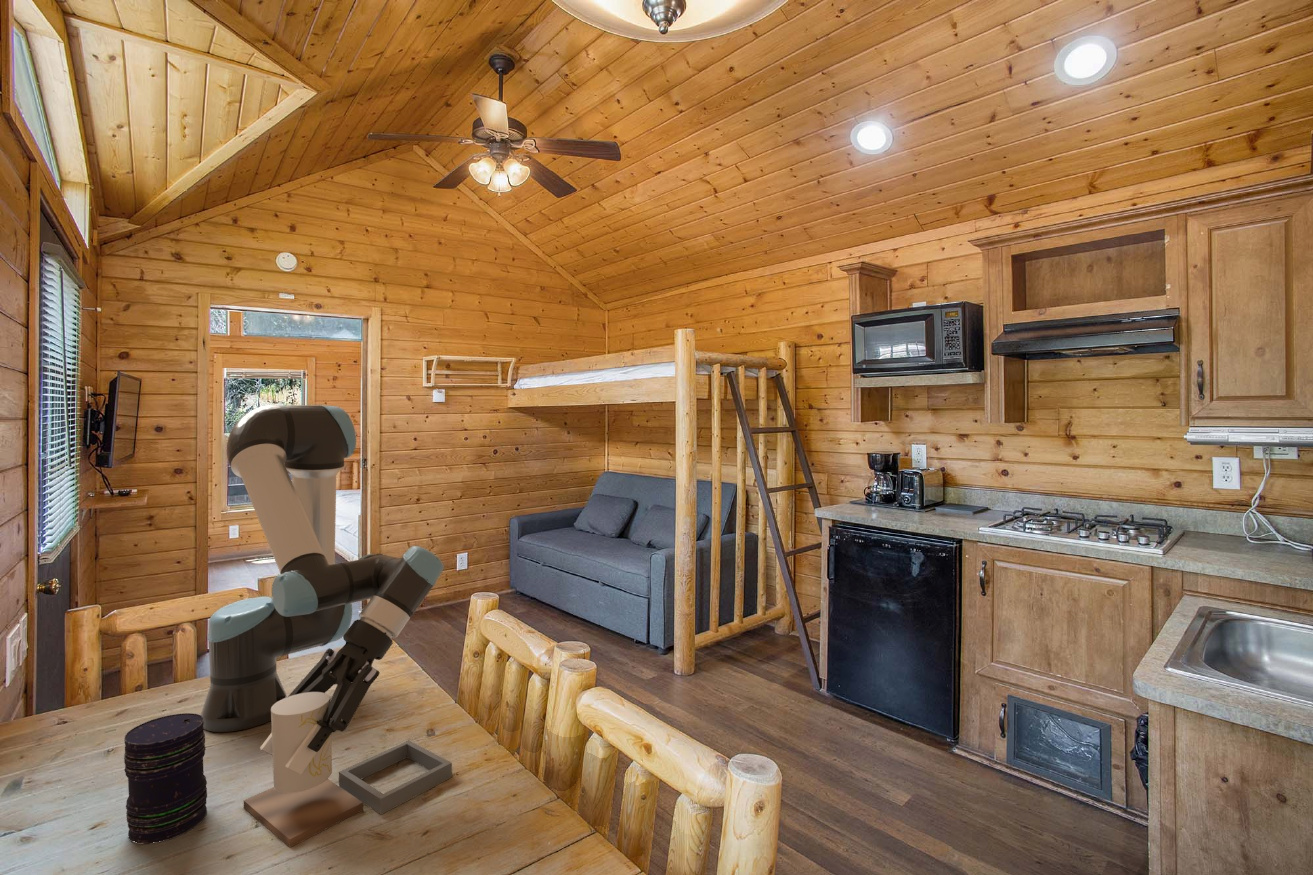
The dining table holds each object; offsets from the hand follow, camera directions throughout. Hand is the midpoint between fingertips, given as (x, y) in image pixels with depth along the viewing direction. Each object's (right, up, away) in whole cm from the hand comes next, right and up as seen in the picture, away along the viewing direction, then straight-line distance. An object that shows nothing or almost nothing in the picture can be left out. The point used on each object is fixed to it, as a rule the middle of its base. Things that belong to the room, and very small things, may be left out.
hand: (280, 760), depth 100 cm
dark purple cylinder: (-17, -10, 0) cm, 20 cm away
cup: (+2, -4, +3) cm, 6 cm away
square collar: (+14, -9, +11) cm, 19 cm away
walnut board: (+2, -9, +3) cm, 10 cm away
